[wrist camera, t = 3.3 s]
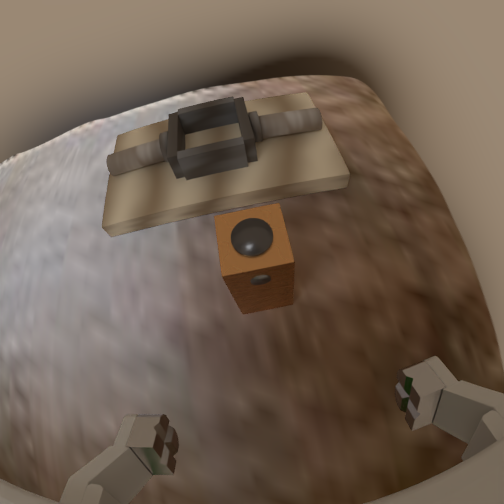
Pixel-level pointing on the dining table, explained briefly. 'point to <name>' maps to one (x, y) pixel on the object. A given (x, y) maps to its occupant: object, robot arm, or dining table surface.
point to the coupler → (256, 258)
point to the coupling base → (220, 161)
